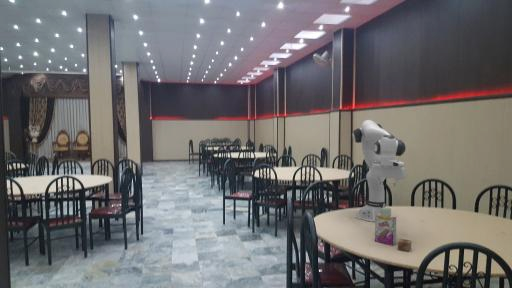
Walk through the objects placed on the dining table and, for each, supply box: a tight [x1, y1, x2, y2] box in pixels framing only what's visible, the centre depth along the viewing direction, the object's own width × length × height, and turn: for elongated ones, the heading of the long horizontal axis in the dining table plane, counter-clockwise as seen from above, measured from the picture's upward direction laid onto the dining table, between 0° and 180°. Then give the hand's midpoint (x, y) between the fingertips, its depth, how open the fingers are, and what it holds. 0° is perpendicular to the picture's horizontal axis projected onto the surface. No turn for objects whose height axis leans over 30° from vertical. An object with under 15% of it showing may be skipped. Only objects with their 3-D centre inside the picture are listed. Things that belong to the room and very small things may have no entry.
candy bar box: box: [374, 214, 397, 246], centre depth 209 cm, size 11×5×16 cm, turn 48°
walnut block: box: [397, 238, 412, 253], centre depth 198 cm, size 6×6×5 cm
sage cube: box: [380, 206, 392, 217], centre depth 209 cm, size 4×4×4 cm
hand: (387, 185), depth 209 cm, fingers open, 8 cm apart
